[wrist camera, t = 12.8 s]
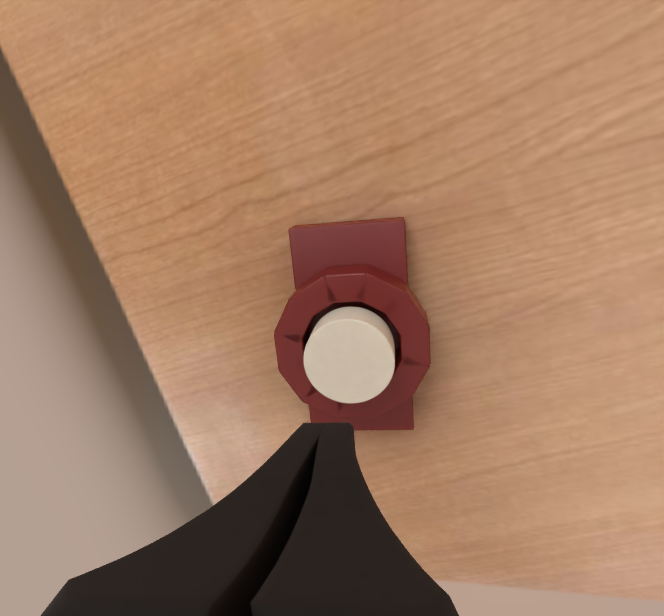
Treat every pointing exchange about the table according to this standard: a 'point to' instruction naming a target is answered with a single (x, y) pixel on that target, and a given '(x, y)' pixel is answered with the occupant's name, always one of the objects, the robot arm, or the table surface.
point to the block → (357, 291)
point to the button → (350, 355)
